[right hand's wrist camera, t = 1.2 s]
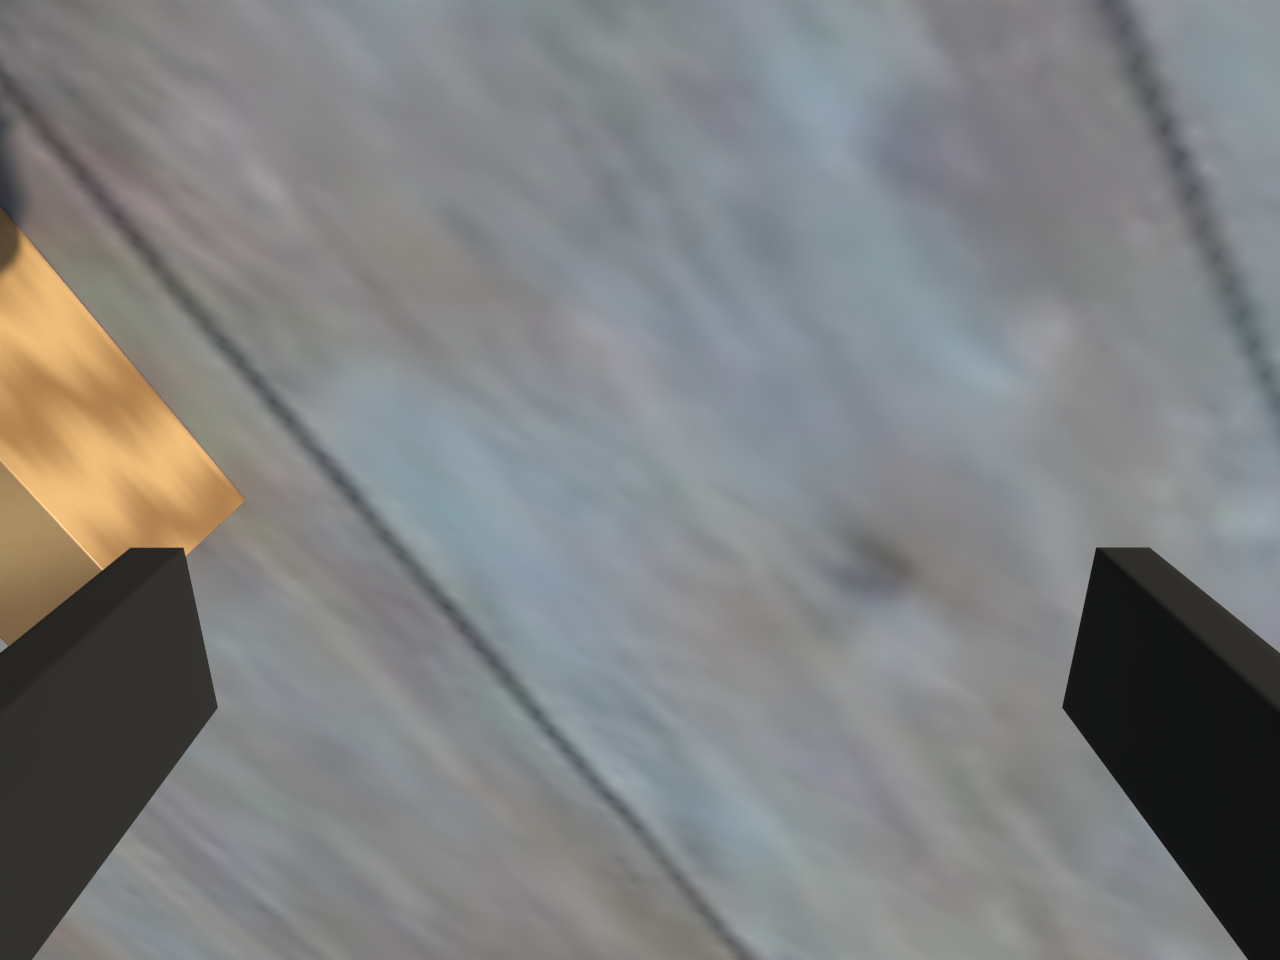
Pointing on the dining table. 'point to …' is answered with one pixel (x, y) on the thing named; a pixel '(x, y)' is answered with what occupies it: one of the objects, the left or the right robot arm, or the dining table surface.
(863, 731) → the dining table surface
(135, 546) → the bar
